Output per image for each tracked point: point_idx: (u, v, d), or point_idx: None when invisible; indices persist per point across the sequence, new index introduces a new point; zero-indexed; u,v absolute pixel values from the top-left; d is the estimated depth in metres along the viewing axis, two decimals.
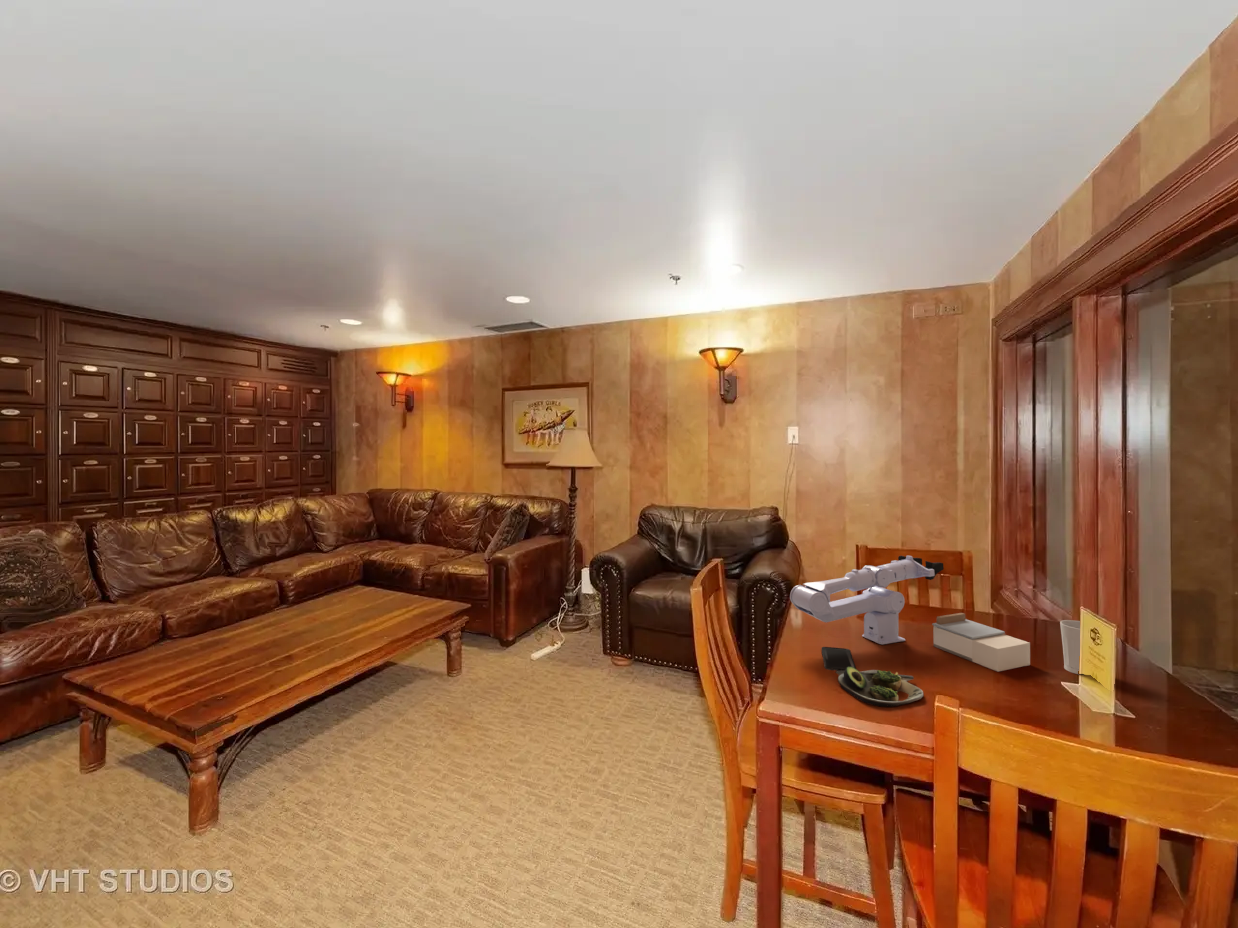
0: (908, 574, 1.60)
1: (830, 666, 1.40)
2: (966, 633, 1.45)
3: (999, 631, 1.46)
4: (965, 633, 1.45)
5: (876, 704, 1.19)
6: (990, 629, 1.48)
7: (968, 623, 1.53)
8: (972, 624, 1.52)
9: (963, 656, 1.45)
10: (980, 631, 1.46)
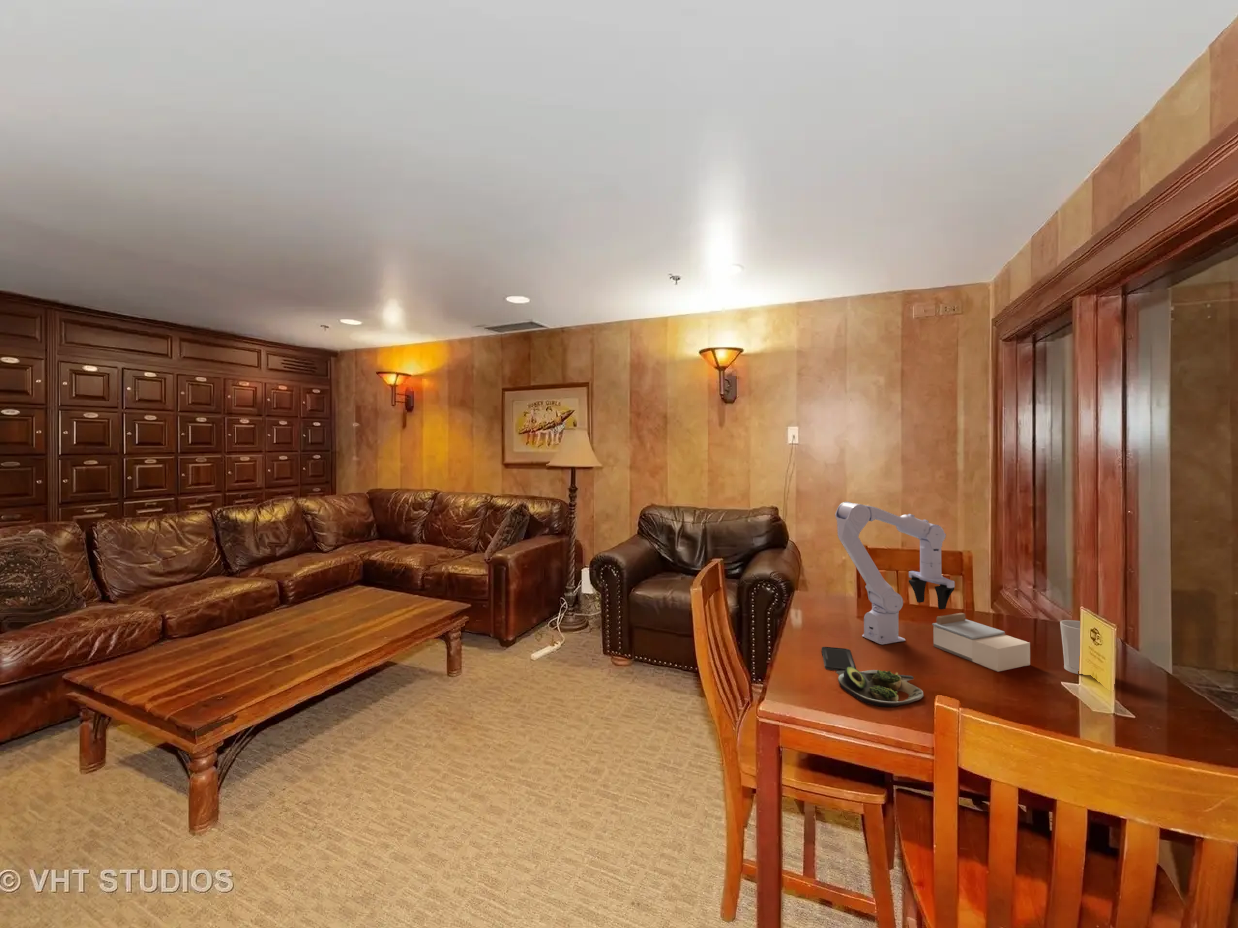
0: (937, 566, 1.58)
1: (830, 666, 1.40)
2: (966, 633, 1.45)
3: (999, 631, 1.46)
4: (965, 633, 1.45)
5: (876, 704, 1.19)
6: (990, 629, 1.48)
7: (968, 623, 1.53)
8: (972, 624, 1.52)
9: (963, 656, 1.45)
10: (980, 631, 1.46)
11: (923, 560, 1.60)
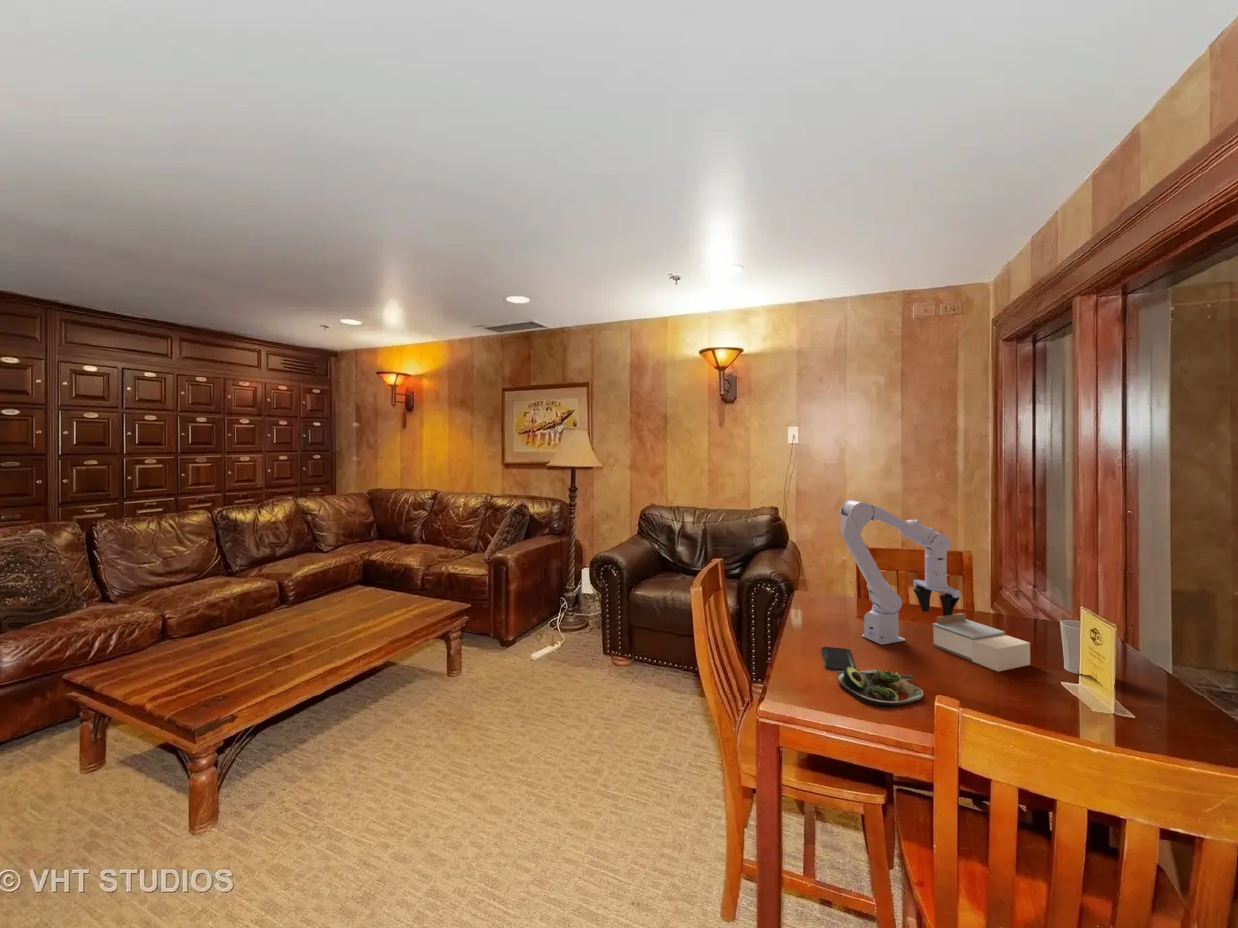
0: (942, 576, 1.57)
1: (830, 666, 1.40)
2: (966, 633, 1.45)
3: (999, 631, 1.46)
4: (965, 633, 1.45)
5: (876, 704, 1.19)
6: (991, 629, 1.48)
7: (968, 623, 1.53)
8: (972, 624, 1.52)
9: (963, 656, 1.45)
10: (980, 631, 1.46)
11: (927, 569, 1.59)
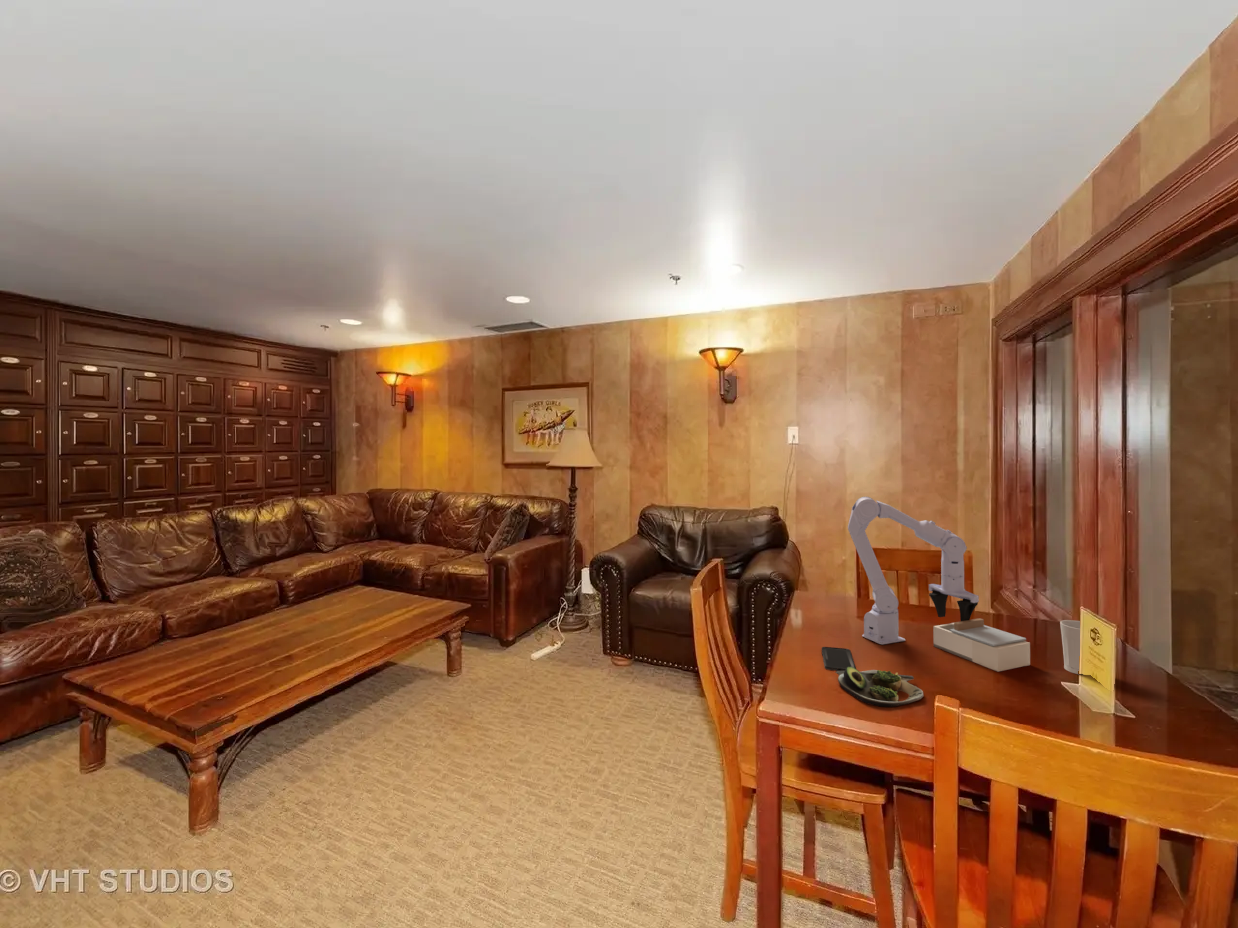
0: (959, 580, 1.51)
1: (830, 666, 1.40)
2: (986, 640, 1.40)
3: (1020, 638, 1.41)
4: (985, 640, 1.40)
5: (876, 704, 1.19)
6: (1011, 636, 1.42)
7: (987, 629, 1.48)
8: (991, 630, 1.47)
9: (963, 656, 1.45)
10: (1000, 638, 1.41)
11: (942, 572, 1.54)
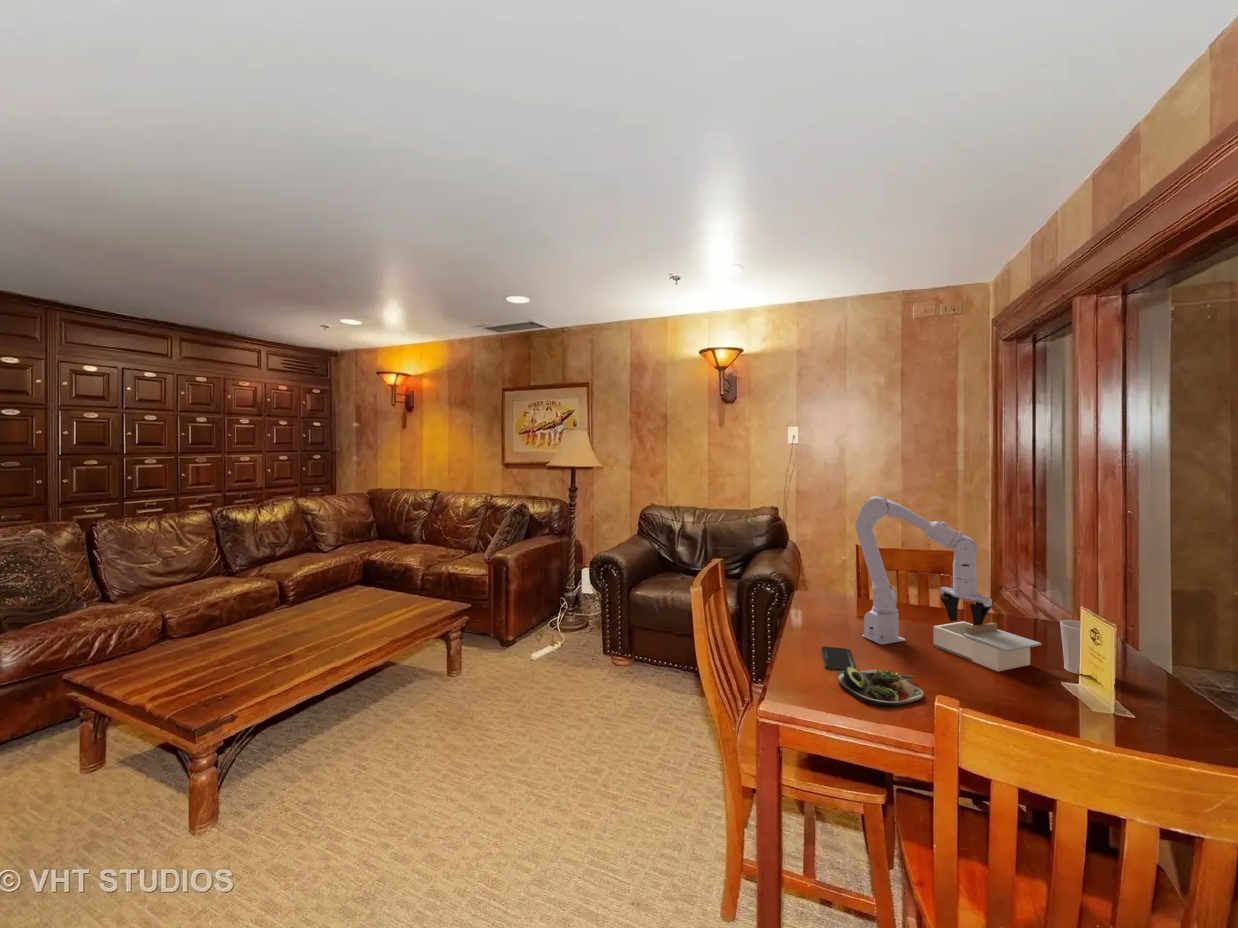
0: (972, 583, 1.48)
1: (830, 666, 1.40)
2: (1000, 645, 1.36)
3: (1035, 643, 1.37)
4: (999, 645, 1.36)
5: (876, 704, 1.19)
6: (1026, 640, 1.39)
7: (1001, 634, 1.44)
8: (1005, 635, 1.43)
9: (963, 656, 1.45)
10: (1015, 643, 1.37)
11: (953, 575, 1.51)
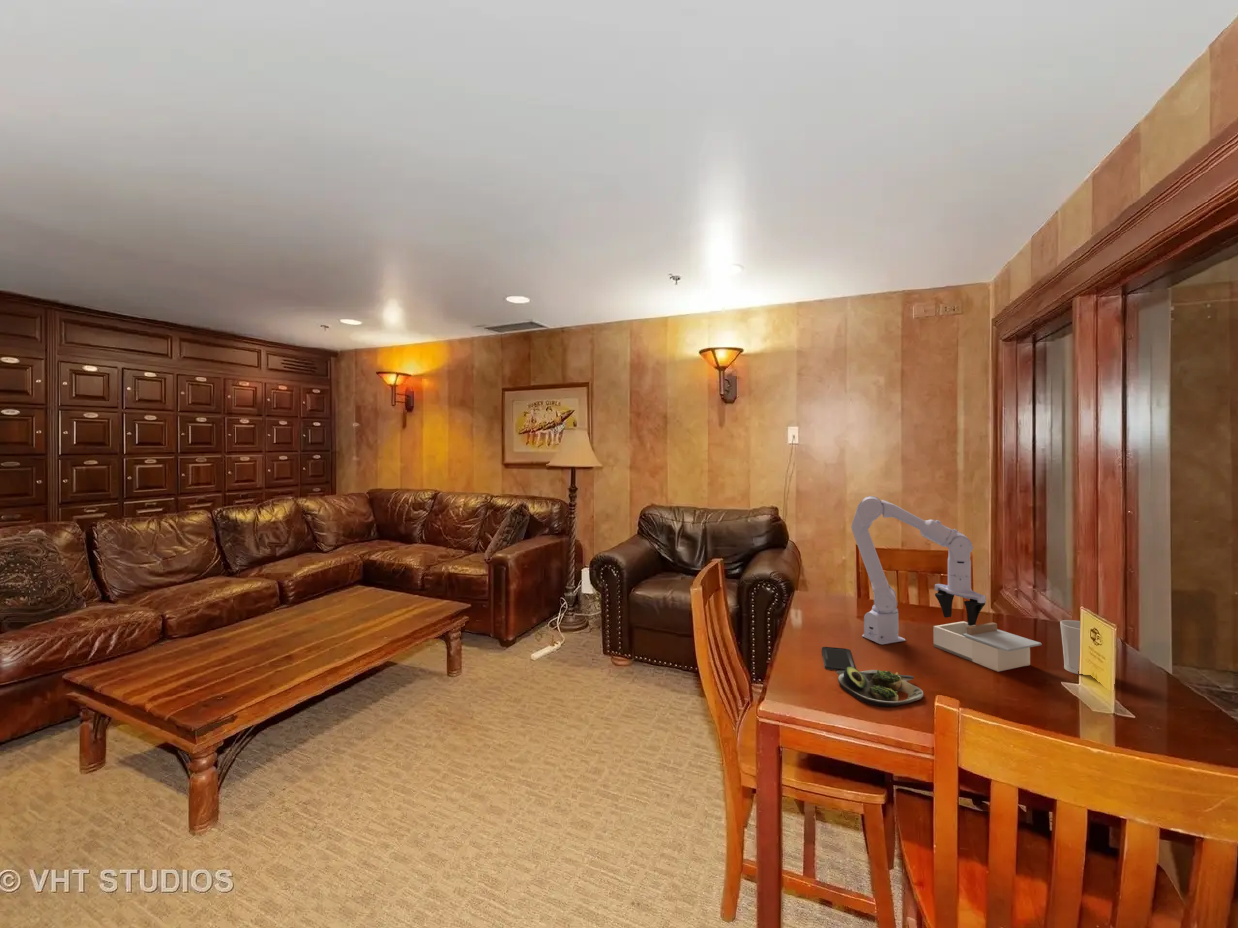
0: (966, 580, 1.49)
1: (830, 666, 1.40)
2: (1000, 645, 1.36)
3: (1035, 643, 1.37)
4: (999, 645, 1.36)
5: (876, 704, 1.19)
6: (1026, 640, 1.39)
7: (1001, 634, 1.44)
8: (1005, 635, 1.43)
9: (963, 656, 1.45)
10: (1015, 643, 1.37)
11: (948, 572, 1.53)
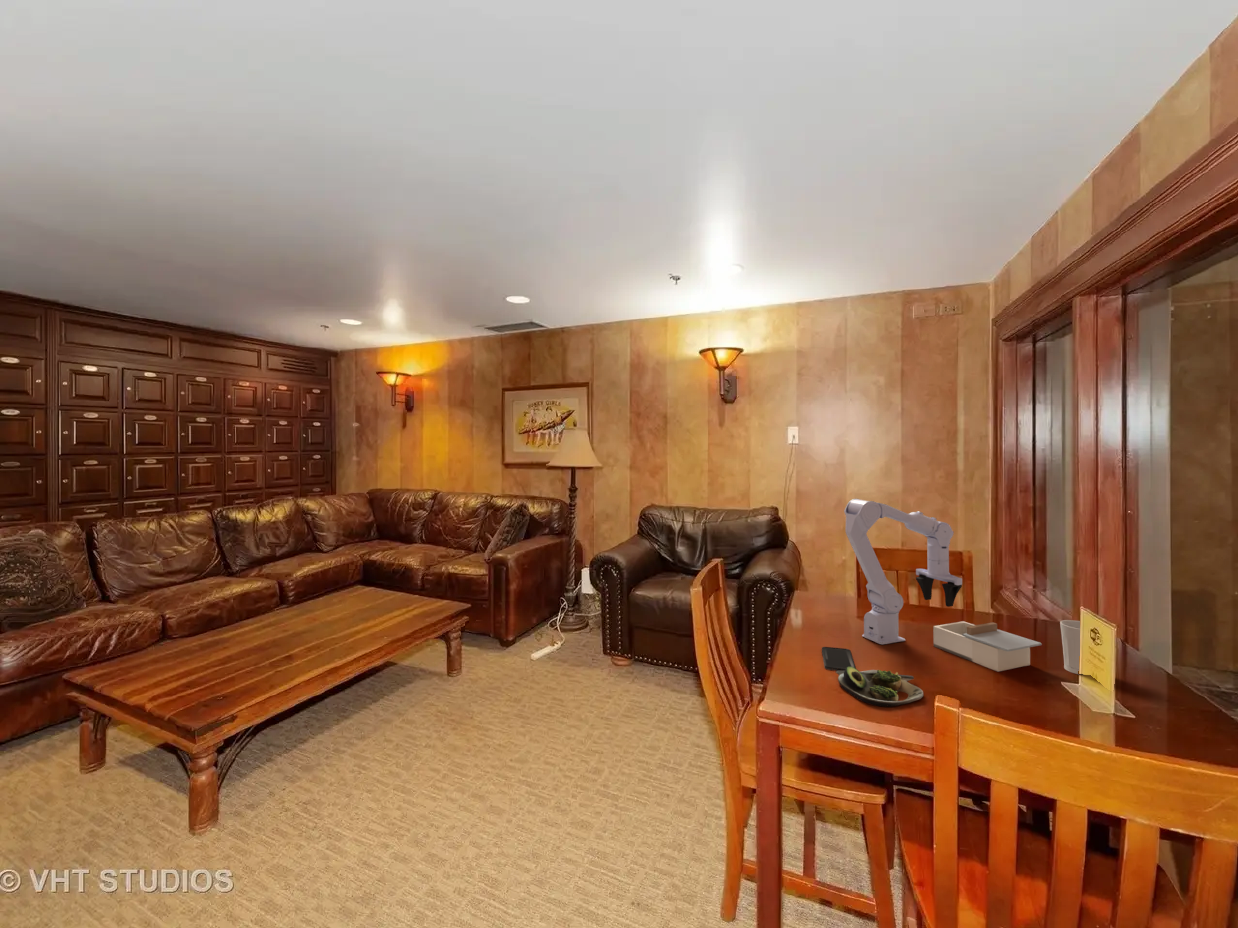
0: (944, 564, 1.59)
1: (830, 666, 1.40)
2: (1000, 645, 1.36)
3: (1035, 643, 1.37)
4: (999, 645, 1.36)
5: (876, 704, 1.19)
6: (1026, 640, 1.39)
7: (1001, 634, 1.44)
8: (1005, 635, 1.43)
9: (963, 656, 1.45)
10: (1015, 643, 1.37)
11: (931, 558, 1.61)
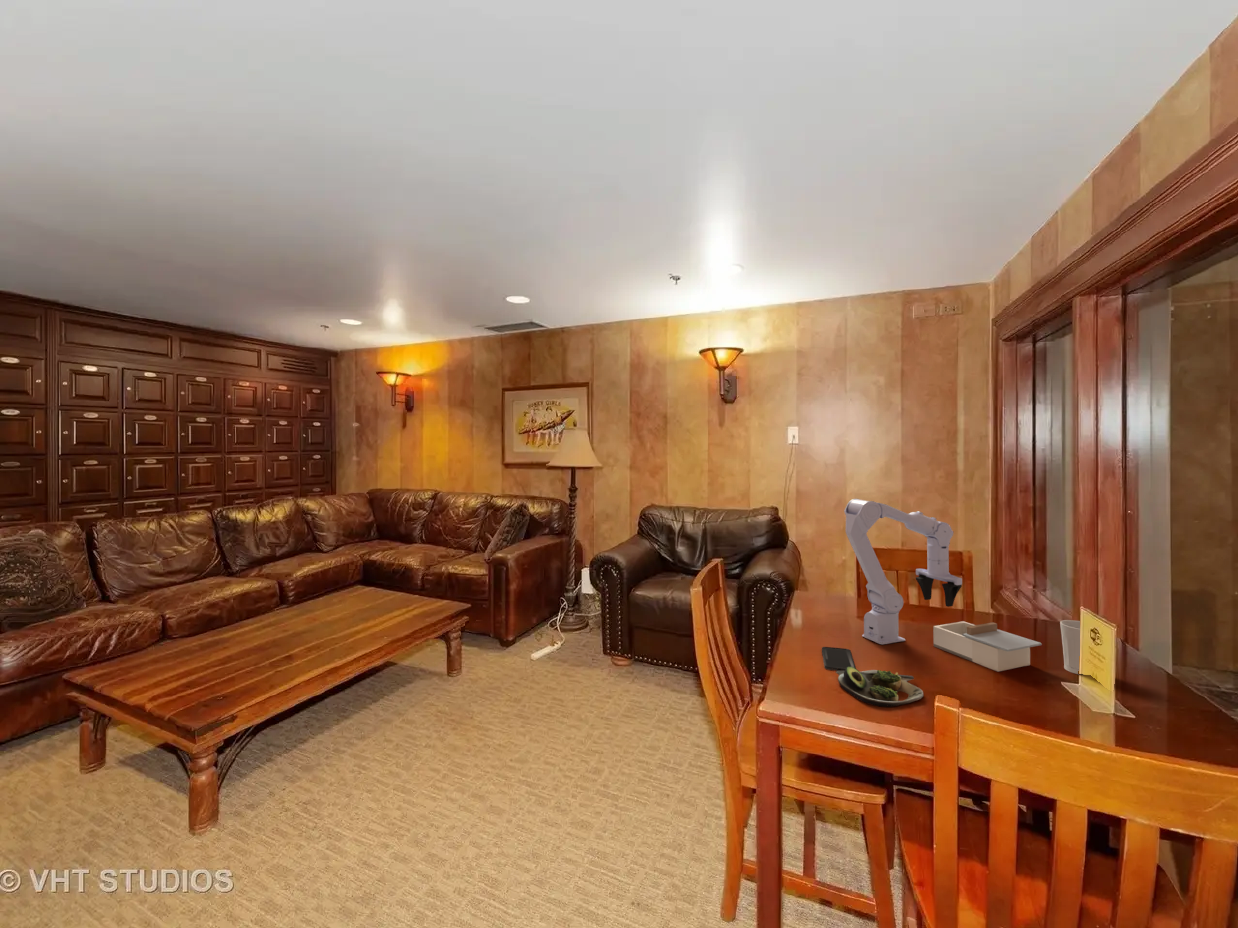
0: (944, 564, 1.59)
1: (830, 666, 1.40)
2: (1000, 645, 1.36)
3: (1035, 643, 1.37)
4: (999, 645, 1.36)
5: (876, 704, 1.19)
6: (1026, 640, 1.39)
7: (1001, 634, 1.44)
8: (1005, 635, 1.43)
9: (963, 656, 1.45)
10: (1015, 643, 1.37)
11: (931, 558, 1.61)
